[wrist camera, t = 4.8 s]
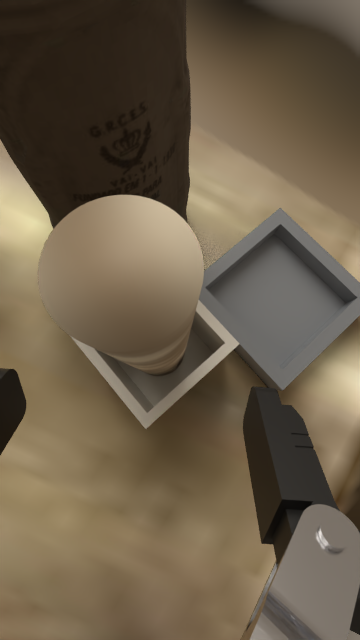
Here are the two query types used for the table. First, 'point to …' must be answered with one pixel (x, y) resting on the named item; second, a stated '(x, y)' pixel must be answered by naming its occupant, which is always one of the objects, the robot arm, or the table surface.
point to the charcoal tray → (280, 298)
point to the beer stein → (96, 100)
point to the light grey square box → (163, 391)
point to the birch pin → (124, 280)
